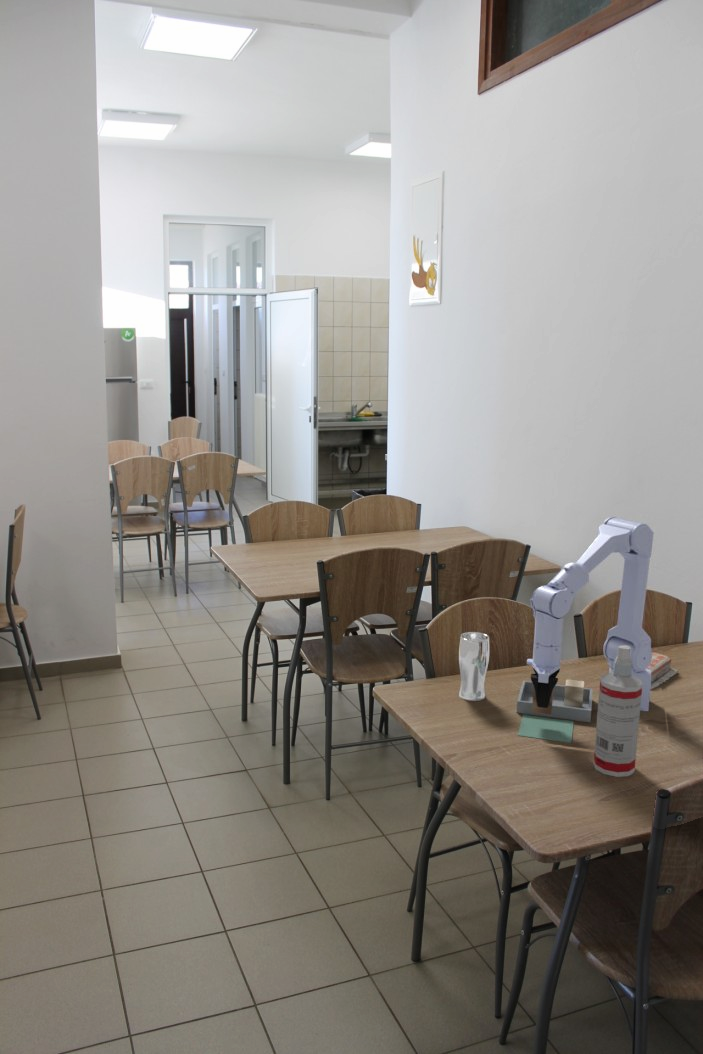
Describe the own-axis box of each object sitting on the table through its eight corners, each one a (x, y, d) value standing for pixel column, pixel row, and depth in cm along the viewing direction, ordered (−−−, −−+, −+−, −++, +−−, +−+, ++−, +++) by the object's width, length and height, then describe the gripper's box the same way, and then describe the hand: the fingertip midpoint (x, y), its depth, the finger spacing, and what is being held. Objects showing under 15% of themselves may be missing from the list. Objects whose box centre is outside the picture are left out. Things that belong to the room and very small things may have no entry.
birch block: (582, 706, 203) (584, 681, 201) (581, 712, 199) (583, 687, 198) (564, 703, 204) (566, 679, 202) (563, 710, 200) (565, 685, 199)
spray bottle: (622, 780, 169) (633, 656, 164) (586, 767, 174) (596, 646, 169) (640, 767, 175) (651, 646, 170) (605, 754, 180) (615, 637, 175)
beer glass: (491, 701, 205) (495, 640, 202) (464, 704, 203) (467, 642, 200) (479, 690, 212) (482, 630, 209) (452, 693, 210) (455, 632, 207)
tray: (591, 702, 206) (592, 689, 206) (590, 724, 194) (591, 710, 193) (522, 693, 211) (522, 680, 210) (516, 714, 198) (517, 701, 198)
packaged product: (642, 647, 232) (679, 656, 225) (640, 664, 233) (677, 674, 226) (612, 664, 218) (651, 675, 212) (610, 683, 219) (649, 694, 213)
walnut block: (552, 707, 192) (554, 680, 191) (550, 714, 188) (552, 687, 187) (533, 704, 193) (535, 678, 192) (531, 711, 189) (533, 684, 188)
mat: (573, 723, 194) (573, 721, 194) (571, 745, 184) (571, 742, 184) (522, 717, 197) (522, 714, 197) (517, 737, 187) (517, 735, 187)
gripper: (531, 630, 196) (527, 688, 198) (525, 651, 182) (521, 713, 185) (564, 633, 194) (559, 692, 196) (560, 655, 180) (555, 717, 183)
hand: (543, 702), depth 190 cm, fingers closed on walnut block, 4 cm apart
